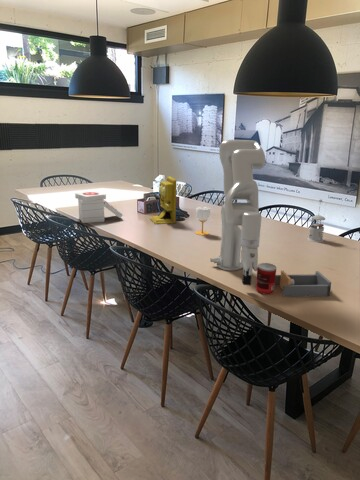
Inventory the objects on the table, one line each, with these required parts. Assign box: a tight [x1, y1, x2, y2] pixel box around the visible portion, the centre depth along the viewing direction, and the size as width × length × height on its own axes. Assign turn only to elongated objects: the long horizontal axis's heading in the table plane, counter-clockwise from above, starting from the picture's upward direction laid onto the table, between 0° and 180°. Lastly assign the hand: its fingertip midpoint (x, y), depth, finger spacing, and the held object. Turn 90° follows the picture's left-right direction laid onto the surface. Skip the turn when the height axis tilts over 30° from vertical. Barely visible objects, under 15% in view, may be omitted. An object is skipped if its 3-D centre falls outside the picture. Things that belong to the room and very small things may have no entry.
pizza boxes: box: [74, 190, 124, 224], centre depth 272 cm, size 19×30×18 cm, turn 112°
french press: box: [306, 199, 326, 243], centre depth 235 cm, size 10×12×25 cm
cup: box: [194, 206, 211, 236], centre depth 244 cm, size 9×9×16 cm
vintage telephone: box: [149, 175, 177, 225], centre depth 270 cm, size 31×14×30 cm, turn 17°
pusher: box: [279, 270, 295, 290], centre depth 165 cm, size 4×9×7 cm, turn 5°
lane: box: [274, 270, 332, 298], centre depth 166 cm, size 20×12×6 cm, turn 95°
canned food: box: [255, 262, 277, 295], centre depth 164 cm, size 8×8×11 cm
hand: (246, 284), depth 163 cm, fingers closed
